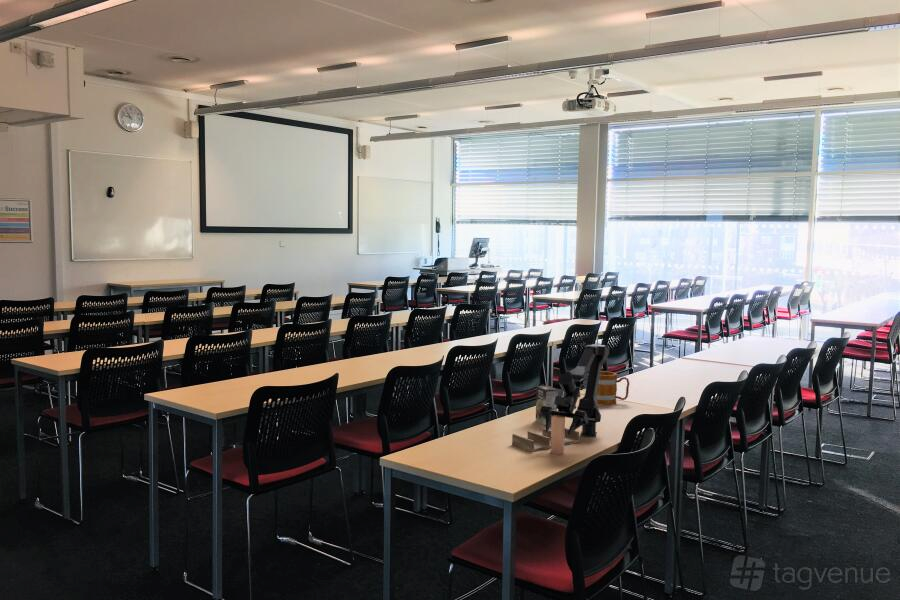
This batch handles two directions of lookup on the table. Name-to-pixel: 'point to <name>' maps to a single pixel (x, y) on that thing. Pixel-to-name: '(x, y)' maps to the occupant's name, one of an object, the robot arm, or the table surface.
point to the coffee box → (544, 400)
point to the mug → (609, 388)
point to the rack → (541, 440)
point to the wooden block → (557, 434)
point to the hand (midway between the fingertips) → (557, 432)
